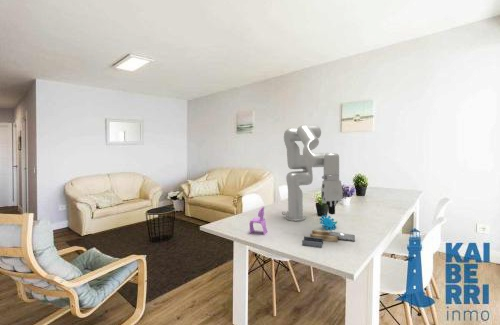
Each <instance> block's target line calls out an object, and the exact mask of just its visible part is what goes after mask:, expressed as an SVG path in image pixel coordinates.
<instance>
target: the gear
mask: <svg viewBox="0 0 500 325" xmlns="http://www.w3.org/2000/svg"><path fill="white" fill-rule="evenodd" d="M319 224H322V225H321V227H322V228H325V230H326V231H332V230H334V231H335V230H336V228H337V225H336V224H338V221H335V219H334V218H331V216H330V215H327V214H324V215H321V217H320V218H319Z"/></svg>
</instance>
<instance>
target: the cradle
mask: <svg viewBox="0 0 500 325" xmlns="http://www.w3.org/2000/svg"><path fill="white" fill-rule="evenodd" d="M301 243H302V244H301V245H302V247H303V246H304V247H313V248H321V249H322V248H323V246H324V245H323V244H324V241H323V238H315V237H310V236H305V235H304V237H303V239H302V241H301Z"/></svg>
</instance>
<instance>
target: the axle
mask: <svg viewBox="0 0 500 325" xmlns="http://www.w3.org/2000/svg"><path fill="white" fill-rule="evenodd" d="M328 232H329V236H337V237H338V240H341V241H348V242H355V239H356V235H355V234H350V233H345V232H344V233H343V232H337V231H328Z"/></svg>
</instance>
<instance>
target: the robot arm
mask: <svg viewBox="0 0 500 325" xmlns="http://www.w3.org/2000/svg"><path fill="white" fill-rule="evenodd" d="M321 136H322V130H321V127H320V126H318V125H315V124H303V125H300V126H298V127H291V128H288V129H286V130H285V131H284V133H283V142H284V145H285V148H286V159H287V160H286V161H287V166H288V168H289V169H290V170H297V171H290V172H288V173H287V174H286V177H285V178H286V180H285V181H286V184H287V209H288V210H287V211H284V210H283V211H281V215H282V216H285V219H286V220H288V221H292V222H301V221H305V220H306V217H305V216H304V213H303V208H304V205H303V200H304V199H303V196H304V195H303V190H302V189H301V187H300V186H309V185H311V184H312V183H313V180H314V179H313V176H314V175H313V168H323V175H322V176H321V179H322V183H321V189H320V190H321V192H320V194H321V196H320V197H321V203H322V204H326V206H327V212H328V214H329V215H335V214H336V207H337V204H338V203H341V202H342V200H343V197H344V196H343V195H344V194H343V184H342V181H341V180H340V155H339V154H338V153H335V152H334V153H331V152H312V151H313V150H314V149H316V148H317V147H318V146H319V144H320V140H319V138H321ZM297 142H301V143H302V144H303V149H302V154H301V153H300V152H301V151H300V145H299V144H297ZM298 170H299V171H298ZM300 170H301V171H300Z"/></svg>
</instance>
